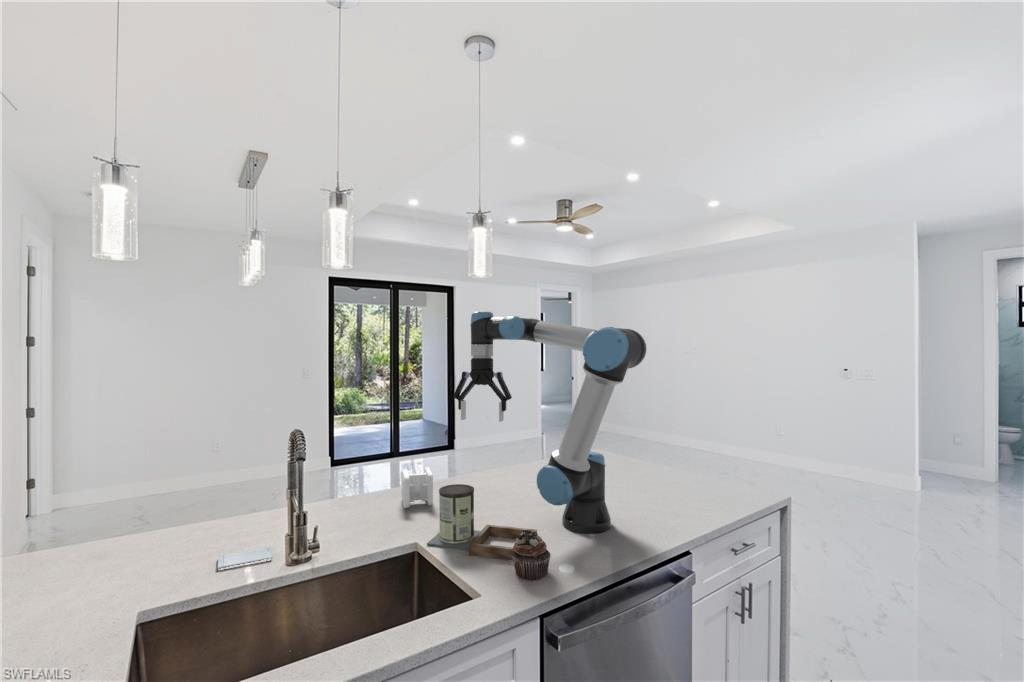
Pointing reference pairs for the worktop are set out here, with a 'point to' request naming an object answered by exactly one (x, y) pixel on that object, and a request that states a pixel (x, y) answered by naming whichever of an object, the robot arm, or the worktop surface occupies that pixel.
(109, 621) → the worktop surface
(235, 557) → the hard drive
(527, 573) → the cupcake
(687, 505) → the worktop surface
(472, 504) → the coffee can
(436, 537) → the rubber pad
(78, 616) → the worktop surface
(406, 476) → the cable organizer
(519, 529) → the walnut collar
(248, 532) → the worktop surface
